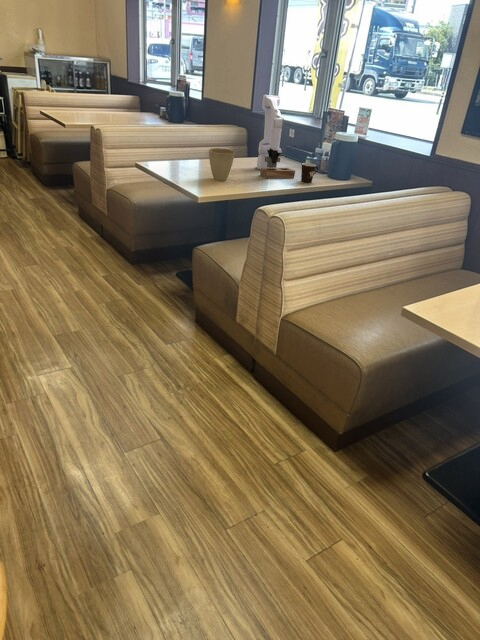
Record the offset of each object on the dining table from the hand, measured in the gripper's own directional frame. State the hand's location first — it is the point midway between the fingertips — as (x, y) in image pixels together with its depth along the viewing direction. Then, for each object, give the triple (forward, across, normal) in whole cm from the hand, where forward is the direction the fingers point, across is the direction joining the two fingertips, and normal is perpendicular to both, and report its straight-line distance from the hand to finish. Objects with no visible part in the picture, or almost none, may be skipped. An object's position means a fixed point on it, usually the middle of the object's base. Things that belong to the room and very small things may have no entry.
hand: (272, 162), depth 286 cm
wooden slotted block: (+8, 0, +4) cm, 9 cm away
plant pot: (+8, +5, -36) cm, 38 cm away
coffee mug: (+8, +13, +20) cm, 25 cm away
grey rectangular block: (+2, 0, 0) cm, 3 cm away
